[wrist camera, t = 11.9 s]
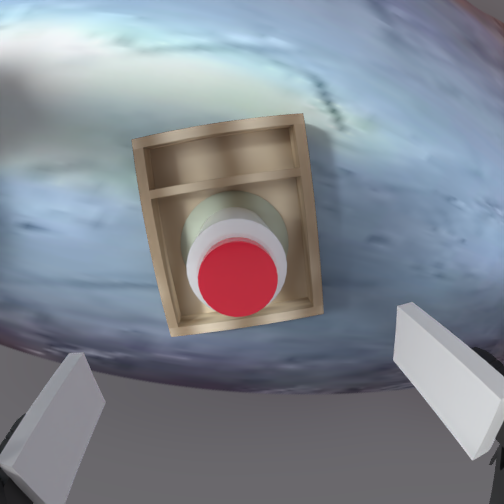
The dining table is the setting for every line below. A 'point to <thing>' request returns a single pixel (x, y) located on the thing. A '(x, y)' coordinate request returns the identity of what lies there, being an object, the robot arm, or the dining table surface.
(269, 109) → the dining table surface
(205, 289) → the pill bottle
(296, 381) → the dining table surface
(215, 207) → the crate
